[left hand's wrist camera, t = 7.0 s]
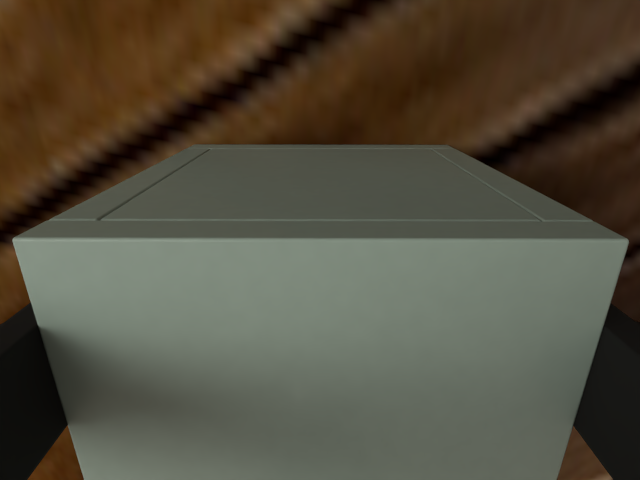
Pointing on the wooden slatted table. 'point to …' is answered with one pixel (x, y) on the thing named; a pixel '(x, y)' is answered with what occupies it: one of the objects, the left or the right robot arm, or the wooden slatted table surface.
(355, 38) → the wooden slatted table surface
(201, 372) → the cabinet
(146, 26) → the wooden slatted table surface
